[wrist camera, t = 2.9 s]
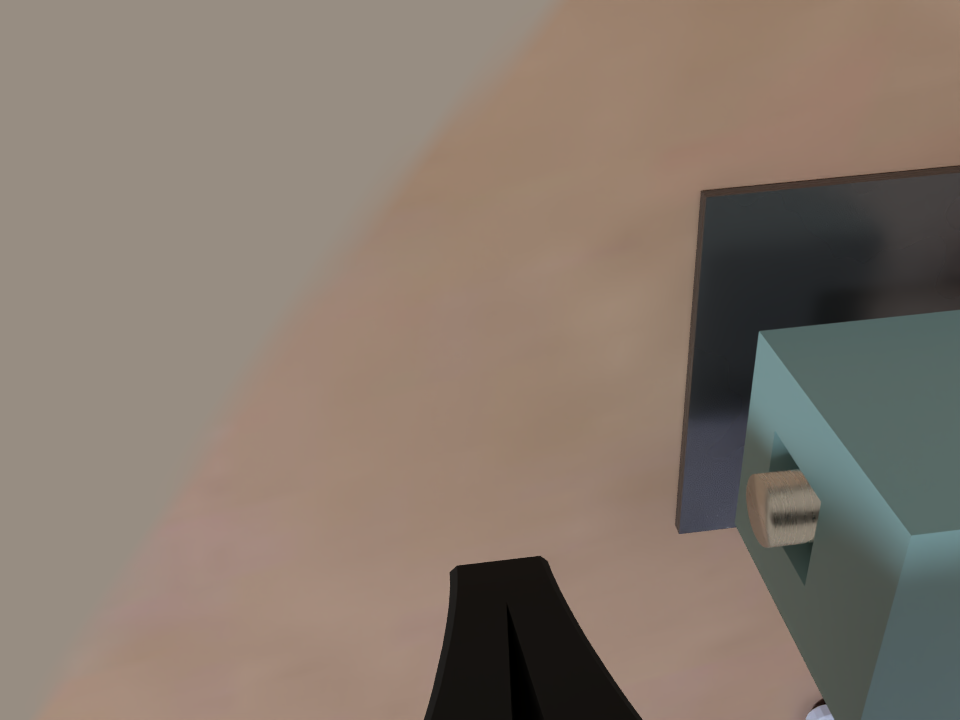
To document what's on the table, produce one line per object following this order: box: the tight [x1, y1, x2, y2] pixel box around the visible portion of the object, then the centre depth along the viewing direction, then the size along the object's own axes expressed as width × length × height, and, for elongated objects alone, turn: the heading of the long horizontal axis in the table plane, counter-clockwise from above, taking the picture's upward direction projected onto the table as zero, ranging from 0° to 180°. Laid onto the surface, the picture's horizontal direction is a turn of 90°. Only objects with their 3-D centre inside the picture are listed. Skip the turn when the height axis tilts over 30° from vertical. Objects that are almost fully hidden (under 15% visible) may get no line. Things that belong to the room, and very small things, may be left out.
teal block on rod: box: [735, 310, 960, 720], centre depth 14 cm, size 4×4×5 cm
